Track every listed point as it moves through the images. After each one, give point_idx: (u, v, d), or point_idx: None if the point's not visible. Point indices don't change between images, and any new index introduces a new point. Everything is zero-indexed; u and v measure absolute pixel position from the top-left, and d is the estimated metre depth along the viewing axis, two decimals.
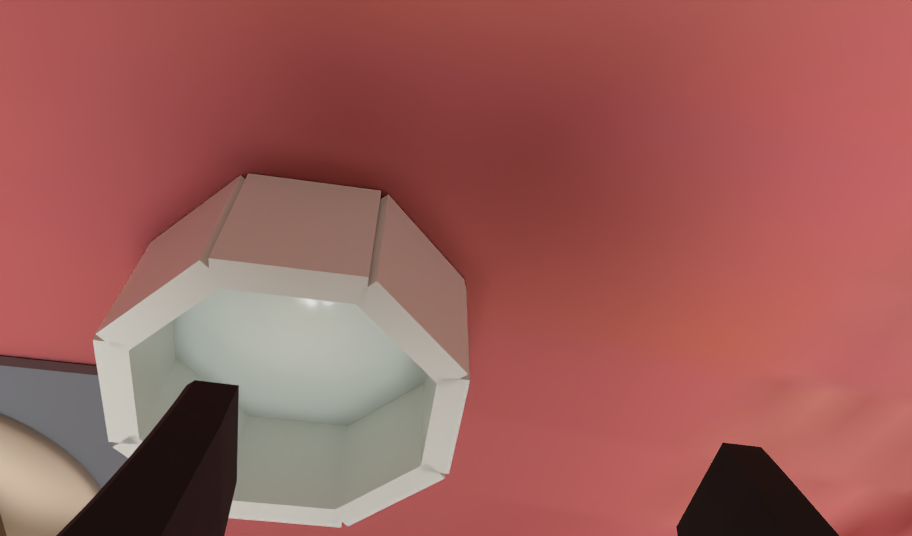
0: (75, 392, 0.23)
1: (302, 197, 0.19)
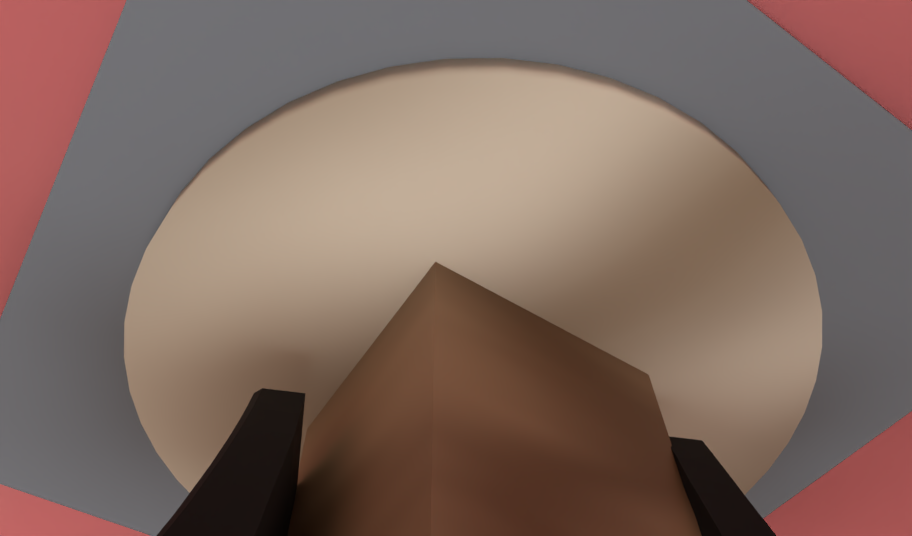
0: None
1: None
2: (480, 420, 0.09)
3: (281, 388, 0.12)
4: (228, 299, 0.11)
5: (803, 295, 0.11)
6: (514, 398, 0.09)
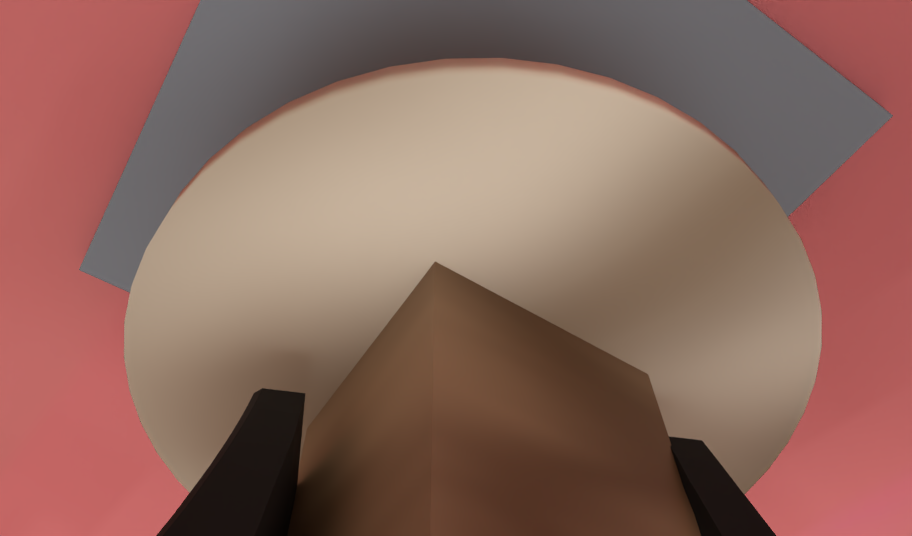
0: None
1: None
2: (480, 419, 0.09)
3: (281, 388, 0.12)
4: (228, 299, 0.11)
5: (802, 295, 0.11)
6: (513, 398, 0.09)
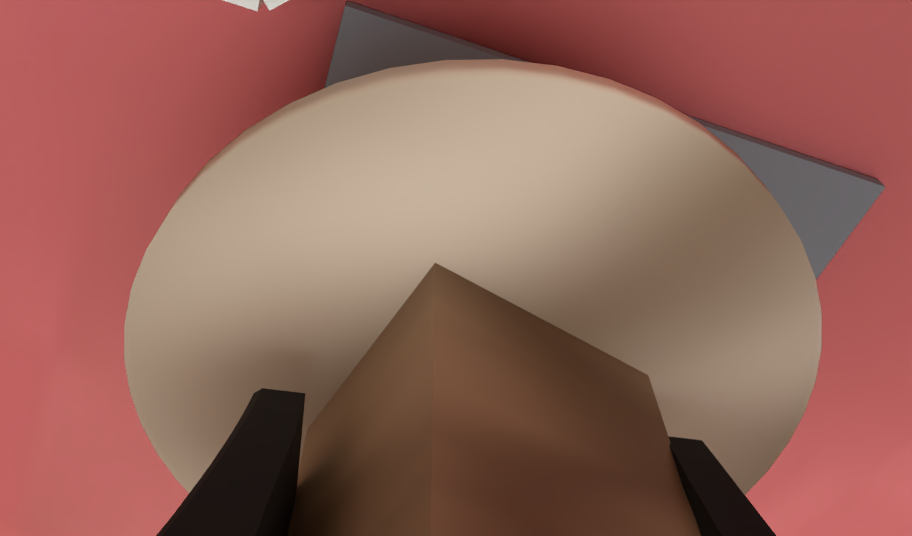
0: None
1: None
2: (480, 421, 0.09)
3: (281, 389, 0.12)
4: (228, 300, 0.11)
5: (803, 296, 0.11)
6: (514, 399, 0.09)
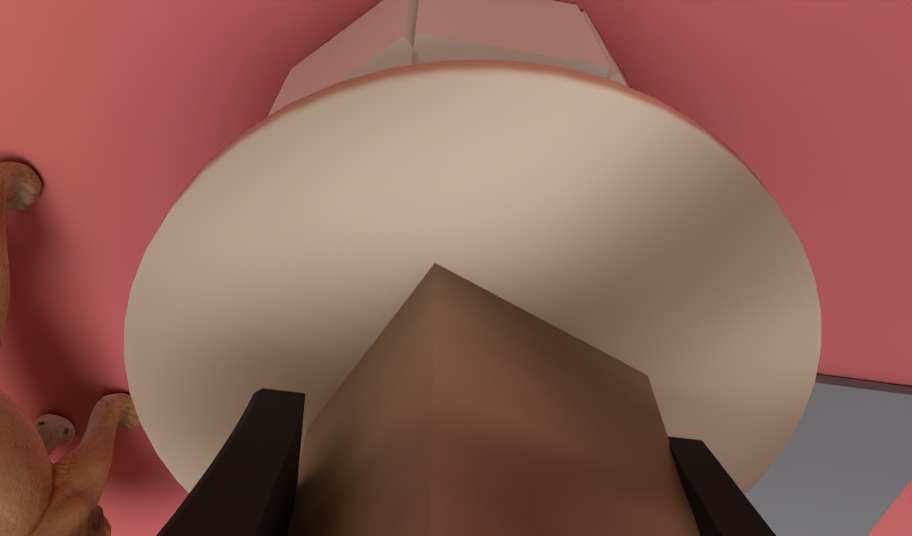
0: None
1: None
2: (479, 420, 0.09)
3: (281, 389, 0.12)
4: (228, 300, 0.11)
5: (802, 296, 0.11)
6: (514, 399, 0.09)
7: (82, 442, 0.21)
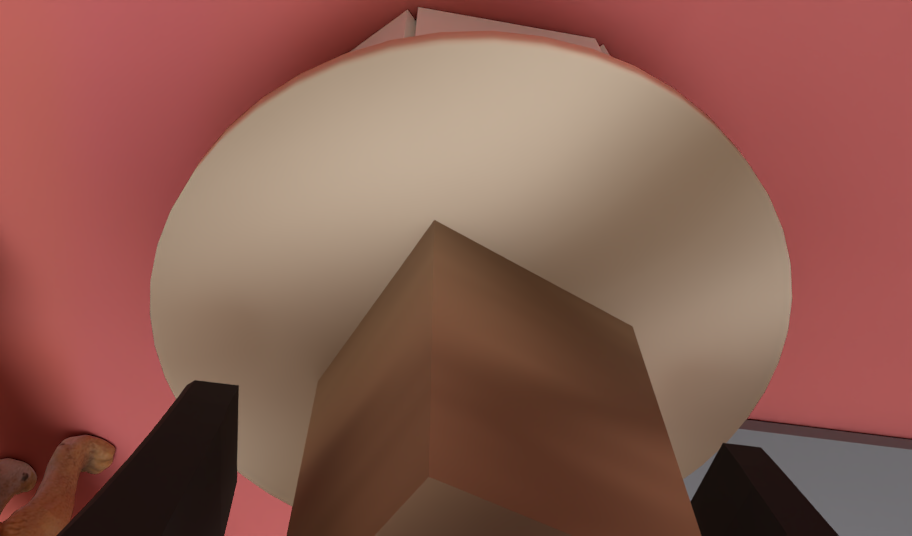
0: None
1: None
2: (474, 351, 0.10)
3: (294, 342, 0.13)
4: (245, 257, 0.12)
5: (772, 249, 0.12)
6: (505, 336, 0.10)
7: (36, 495, 0.19)
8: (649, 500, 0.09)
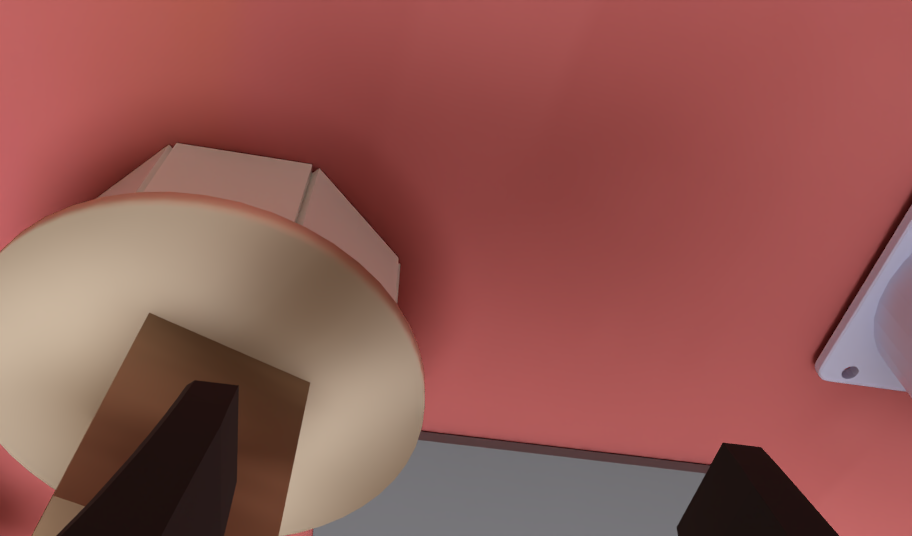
0: None
1: None
2: (136, 411, 0.15)
3: (68, 392, 0.18)
4: (22, 336, 0.17)
5: (393, 331, 0.17)
6: (172, 398, 0.15)
7: None
8: (244, 508, 0.14)
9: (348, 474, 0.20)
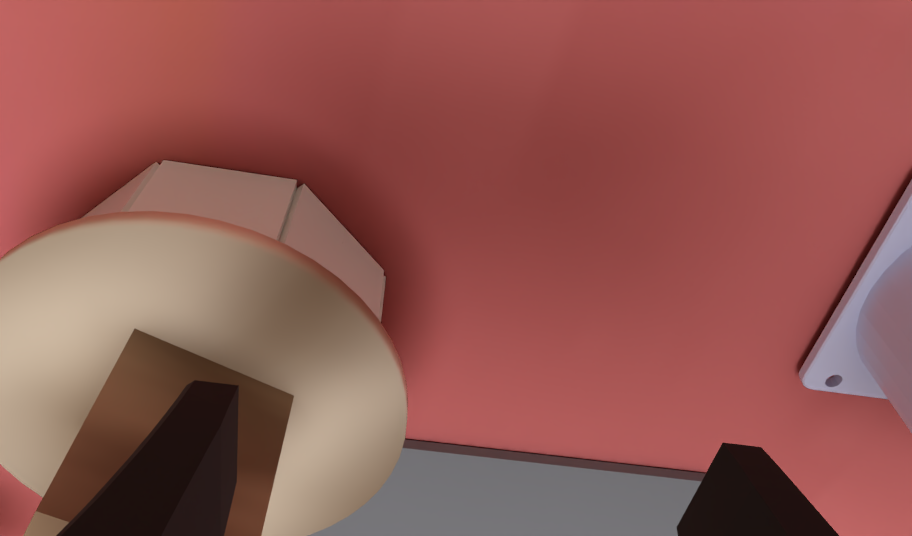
0: None
1: None
2: (119, 427, 0.15)
3: (58, 406, 0.18)
4: (11, 351, 0.17)
5: (374, 346, 0.17)
6: (155, 413, 0.16)
7: None
8: None
9: (334, 484, 0.20)
